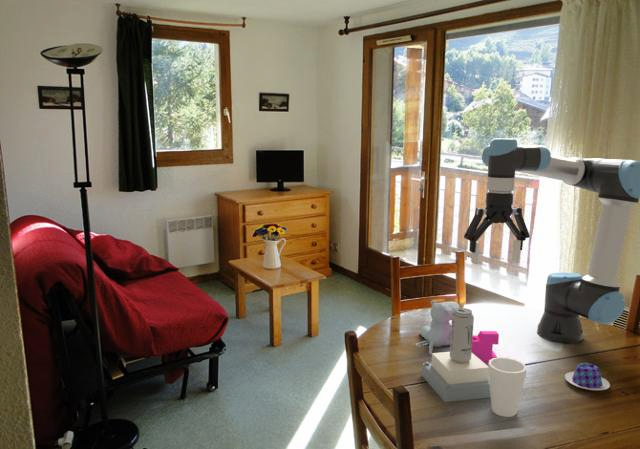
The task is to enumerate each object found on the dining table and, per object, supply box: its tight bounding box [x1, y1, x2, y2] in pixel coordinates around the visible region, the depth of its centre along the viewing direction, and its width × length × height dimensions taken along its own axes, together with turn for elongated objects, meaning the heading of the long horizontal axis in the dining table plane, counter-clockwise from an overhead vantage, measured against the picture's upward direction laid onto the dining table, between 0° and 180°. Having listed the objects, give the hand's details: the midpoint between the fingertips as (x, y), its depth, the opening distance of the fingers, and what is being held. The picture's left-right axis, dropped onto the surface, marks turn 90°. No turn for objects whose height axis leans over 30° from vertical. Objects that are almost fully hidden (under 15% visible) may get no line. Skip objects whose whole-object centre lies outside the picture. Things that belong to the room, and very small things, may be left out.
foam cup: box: [487, 356, 527, 418], centre depth 137 cm, size 10×9×13 cm
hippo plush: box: [414, 299, 461, 355], centre depth 181 cm, size 15×19×15 cm
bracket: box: [472, 330, 500, 365], centre depth 171 cm, size 12×10×10 cm
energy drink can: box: [449, 307, 475, 364], centre depth 149 cm, size 6×6×15 cm
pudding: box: [564, 362, 611, 391], centre depth 154 cm, size 12×12×5 cm
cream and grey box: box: [421, 351, 491, 403], centre depth 151 cm, size 16×16×8 cm
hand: (495, 261), depth 156 cm, fingers open, 13 cm apart
